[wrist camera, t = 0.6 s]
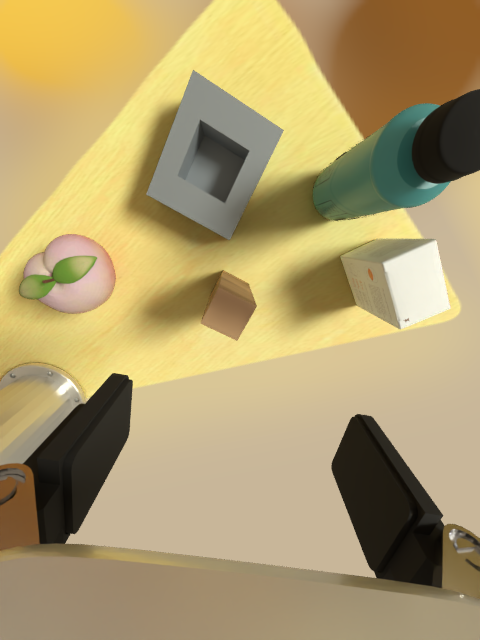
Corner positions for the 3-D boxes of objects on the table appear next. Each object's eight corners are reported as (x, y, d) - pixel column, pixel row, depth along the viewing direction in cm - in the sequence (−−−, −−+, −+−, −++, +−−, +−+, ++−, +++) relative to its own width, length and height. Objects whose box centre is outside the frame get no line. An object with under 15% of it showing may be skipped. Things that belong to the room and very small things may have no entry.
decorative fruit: (93, 313, 36) (44, 341, 26) (49, 265, 34) (-22, 276, 24) (144, 276, 34) (111, 292, 25) (102, 223, 32) (48, 218, 23)
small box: (391, 289, 36) (453, 310, 26) (354, 305, 37) (400, 331, 27) (377, 237, 34) (439, 237, 24) (338, 255, 34) (382, 262, 24)
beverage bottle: (318, 231, 33) (432, 225, 14) (298, 181, 31) (401, 97, 12) (364, 206, 32) (551, 165, 14) (347, 153, 31) (536, 19, 12)
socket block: (229, 239, 33) (229, 240, 28) (159, 200, 31) (146, 194, 27) (275, 147, 30) (283, 130, 25) (199, 97, 28) (193, 69, 24)
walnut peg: (235, 307, 36) (237, 340, 25) (210, 295, 36) (200, 323, 24) (248, 283, 35) (256, 306, 24) (223, 270, 34) (219, 287, 23)
